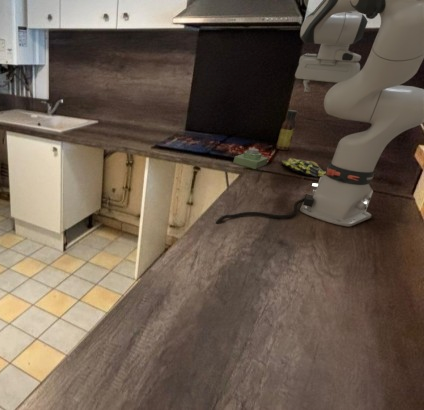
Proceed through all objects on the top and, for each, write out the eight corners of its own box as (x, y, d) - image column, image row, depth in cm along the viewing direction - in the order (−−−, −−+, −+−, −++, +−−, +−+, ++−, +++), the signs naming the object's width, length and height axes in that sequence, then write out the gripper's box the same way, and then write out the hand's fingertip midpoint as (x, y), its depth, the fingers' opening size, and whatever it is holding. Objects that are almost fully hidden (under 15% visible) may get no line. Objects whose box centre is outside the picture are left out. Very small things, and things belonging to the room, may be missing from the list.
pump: (255, 155, 155) (256, 150, 154) (246, 153, 158) (247, 148, 157) (259, 154, 158) (260, 149, 157) (250, 152, 160) (251, 147, 160)
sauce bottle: (290, 151, 185) (302, 112, 177) (277, 150, 186) (288, 111, 178) (286, 148, 191) (297, 110, 183) (274, 146, 192) (284, 109, 184)
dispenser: (255, 169, 153) (258, 157, 150) (233, 162, 159) (235, 152, 157) (266, 164, 160) (269, 153, 158) (245, 158, 167) (247, 148, 165)
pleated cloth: (276, 162, 167) (284, 149, 165) (311, 177, 164) (319, 164, 162) (286, 168, 148) (294, 153, 146) (325, 184, 145) (335, 170, 143)
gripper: (298, 52, 136) (287, 90, 141) (362, 56, 122) (347, 98, 128) (304, 53, 140) (293, 89, 145) (366, 56, 126) (352, 97, 132)
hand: (319, 93), depth 137 cm, fingers open, 8 cm apart
